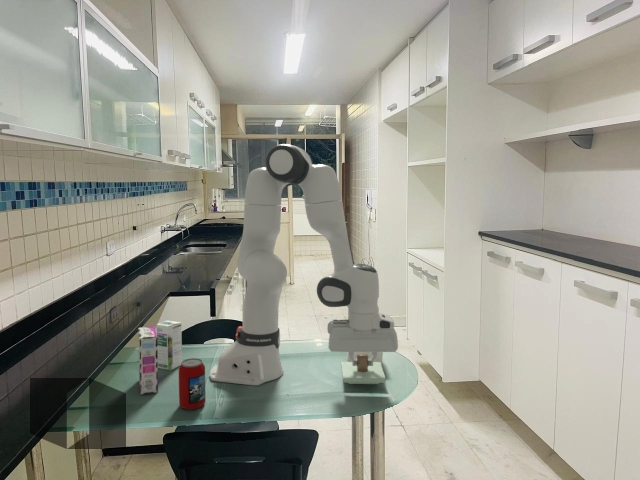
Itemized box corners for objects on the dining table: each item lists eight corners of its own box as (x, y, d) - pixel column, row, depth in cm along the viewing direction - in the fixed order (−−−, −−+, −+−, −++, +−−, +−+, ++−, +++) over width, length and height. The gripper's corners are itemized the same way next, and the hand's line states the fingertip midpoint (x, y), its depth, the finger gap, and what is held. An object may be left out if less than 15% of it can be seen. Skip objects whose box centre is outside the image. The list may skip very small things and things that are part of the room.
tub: (347, 371, 145) (348, 347, 145) (346, 358, 156) (346, 336, 155) (382, 372, 145) (382, 348, 144) (378, 359, 156) (378, 336, 155)
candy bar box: (159, 392, 129) (157, 336, 127) (140, 395, 127) (138, 338, 125) (156, 377, 139) (155, 325, 137) (138, 380, 137) (137, 327, 135)
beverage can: (198, 412, 118) (197, 368, 116) (174, 409, 119) (173, 365, 118) (209, 400, 124) (209, 358, 123) (187, 398, 126) (186, 356, 124)
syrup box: (156, 368, 146) (155, 324, 144) (168, 361, 151) (167, 319, 150) (170, 371, 144) (169, 326, 142) (182, 364, 149) (182, 321, 148)
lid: (342, 386, 129) (343, 363, 128) (341, 369, 141) (341, 348, 140) (385, 386, 129) (385, 363, 128) (380, 369, 141) (380, 348, 140)
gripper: (327, 322, 130) (327, 369, 131) (399, 323, 129) (398, 369, 131) (327, 316, 136) (327, 361, 137) (396, 316, 136) (395, 361, 137)
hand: (362, 365), depth 134 cm, fingers closed on lid, 3 cm apart
